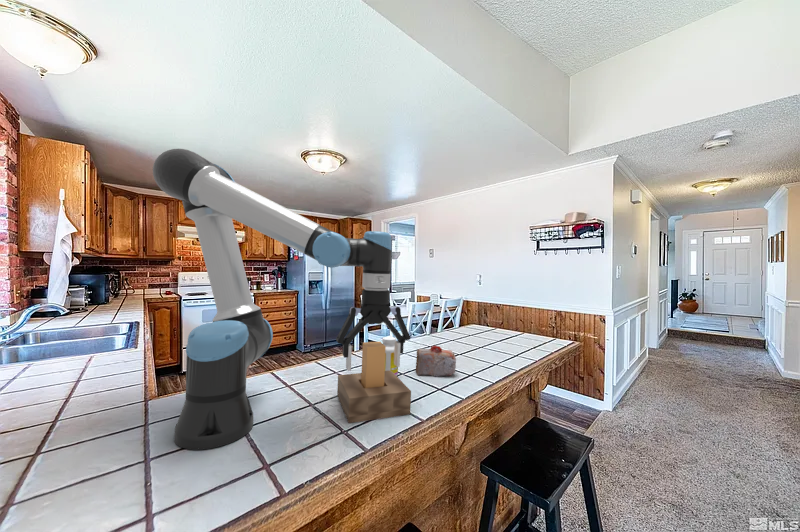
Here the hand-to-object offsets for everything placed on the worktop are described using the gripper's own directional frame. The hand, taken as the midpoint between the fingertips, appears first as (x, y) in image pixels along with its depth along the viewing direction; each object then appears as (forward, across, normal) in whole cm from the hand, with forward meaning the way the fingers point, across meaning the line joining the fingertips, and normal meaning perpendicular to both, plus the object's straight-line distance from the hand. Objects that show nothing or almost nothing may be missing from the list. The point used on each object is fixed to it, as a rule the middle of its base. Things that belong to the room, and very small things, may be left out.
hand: (373, 367), depth 86 cm
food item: (+10, +28, +18) cm, 35 cm away
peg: (+9, 0, 0) cm, 9 cm away
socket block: (+10, 0, 0) cm, 10 cm away
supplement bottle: (+10, +11, +20) cm, 25 cm away
